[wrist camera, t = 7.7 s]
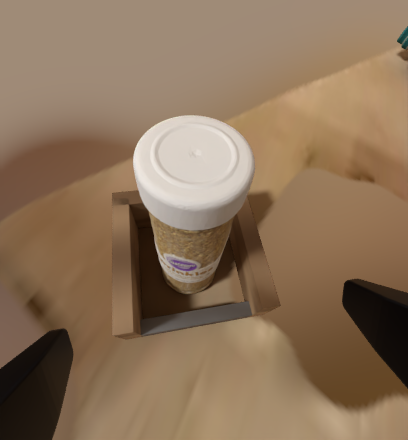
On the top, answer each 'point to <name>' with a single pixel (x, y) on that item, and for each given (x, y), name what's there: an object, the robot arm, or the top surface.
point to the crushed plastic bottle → (404, 39)
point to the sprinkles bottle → (192, 193)
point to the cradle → (138, 327)
